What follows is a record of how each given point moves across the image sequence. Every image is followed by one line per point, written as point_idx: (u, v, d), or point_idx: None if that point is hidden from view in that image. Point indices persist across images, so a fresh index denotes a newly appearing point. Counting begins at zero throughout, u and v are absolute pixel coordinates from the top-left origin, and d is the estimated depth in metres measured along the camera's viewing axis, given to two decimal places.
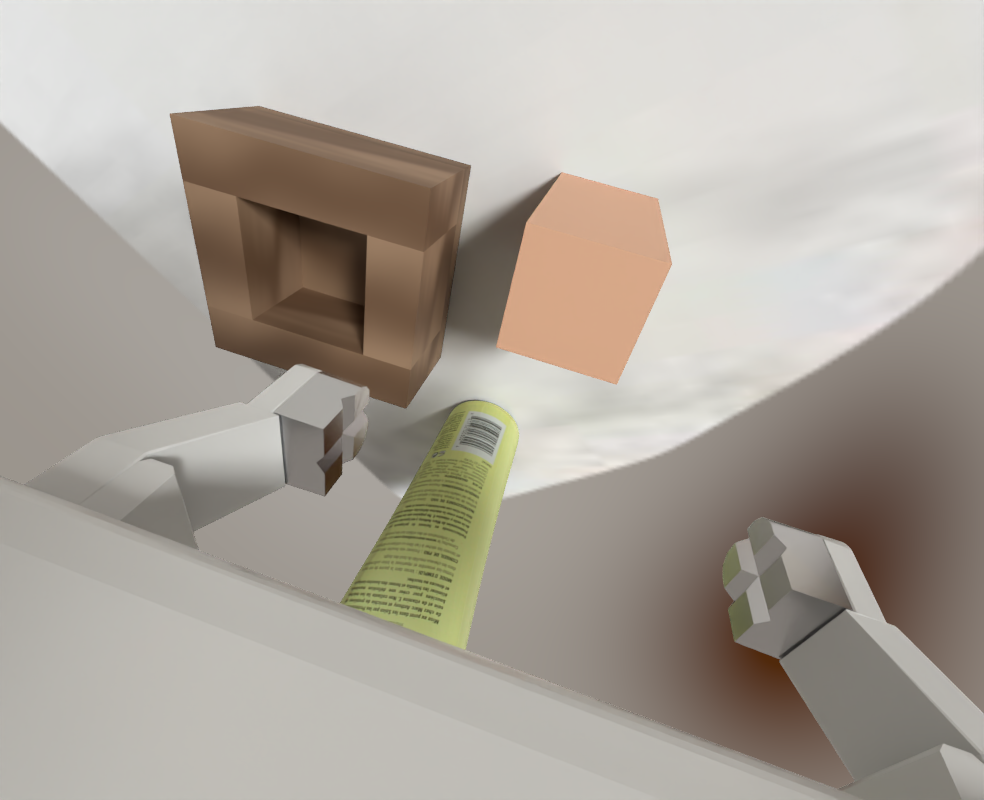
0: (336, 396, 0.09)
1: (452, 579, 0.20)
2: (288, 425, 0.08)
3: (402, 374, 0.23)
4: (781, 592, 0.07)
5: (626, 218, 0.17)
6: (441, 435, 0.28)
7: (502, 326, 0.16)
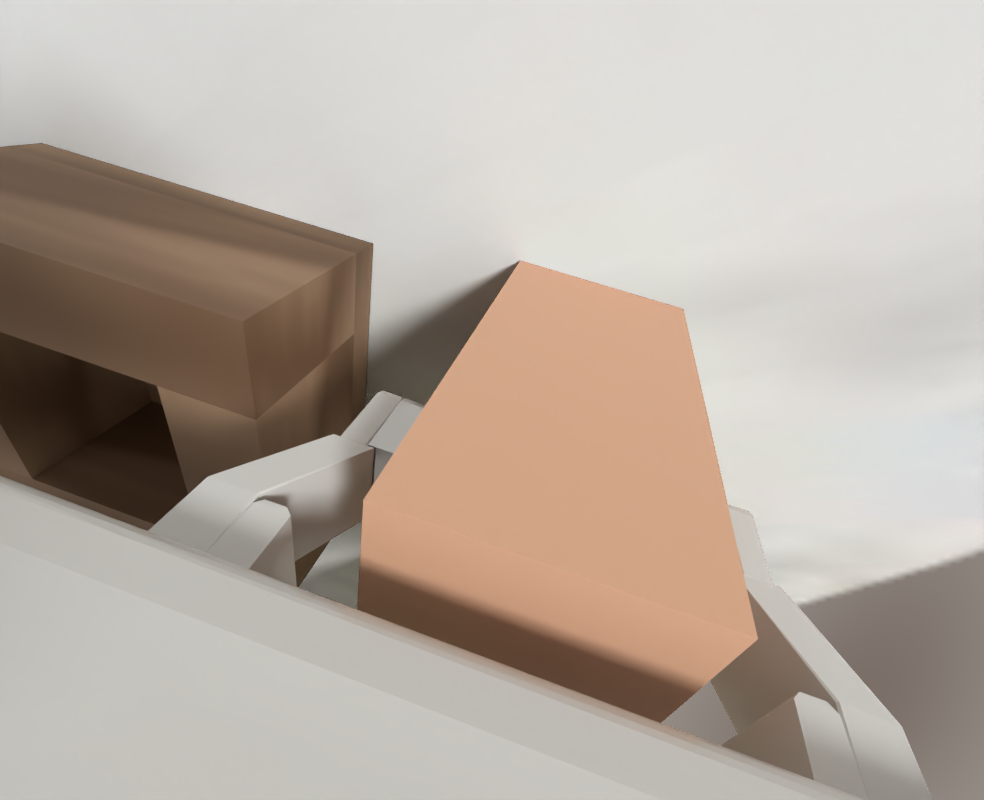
0: None
1: None
2: (382, 457, 0.08)
3: None
4: None
5: (629, 398, 0.08)
6: None
7: None
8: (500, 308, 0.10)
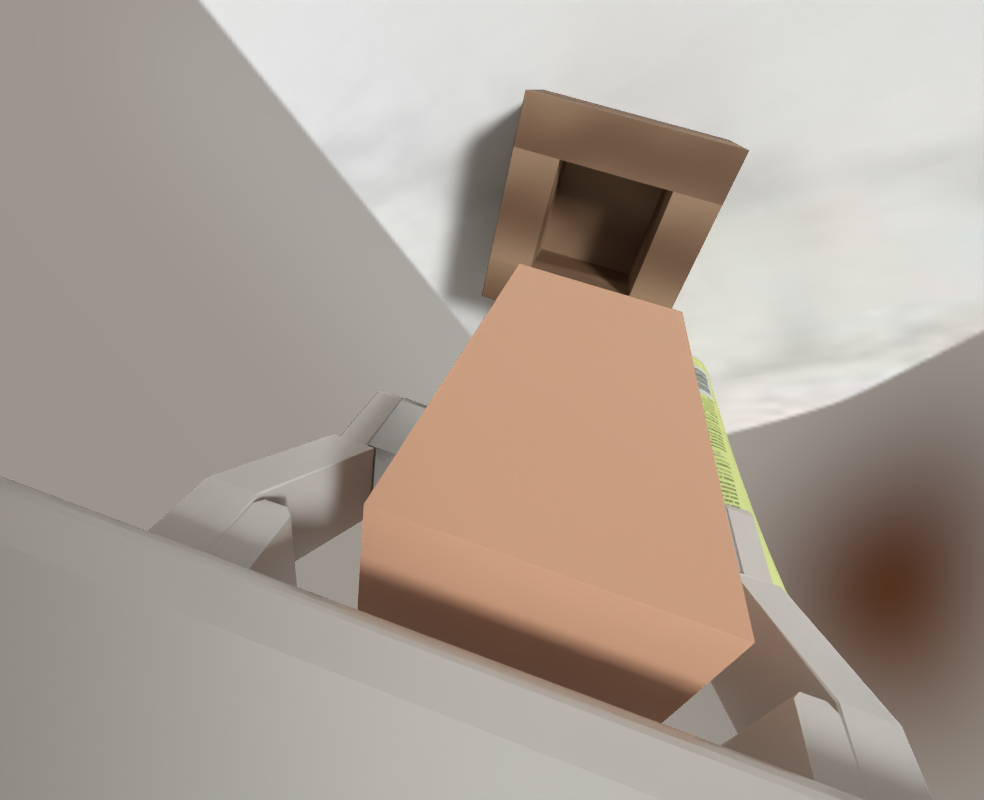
0: None
1: (733, 480, 0.24)
2: (382, 457, 0.08)
3: None
4: None
5: (628, 402, 0.08)
6: None
7: None
8: (499, 311, 0.10)
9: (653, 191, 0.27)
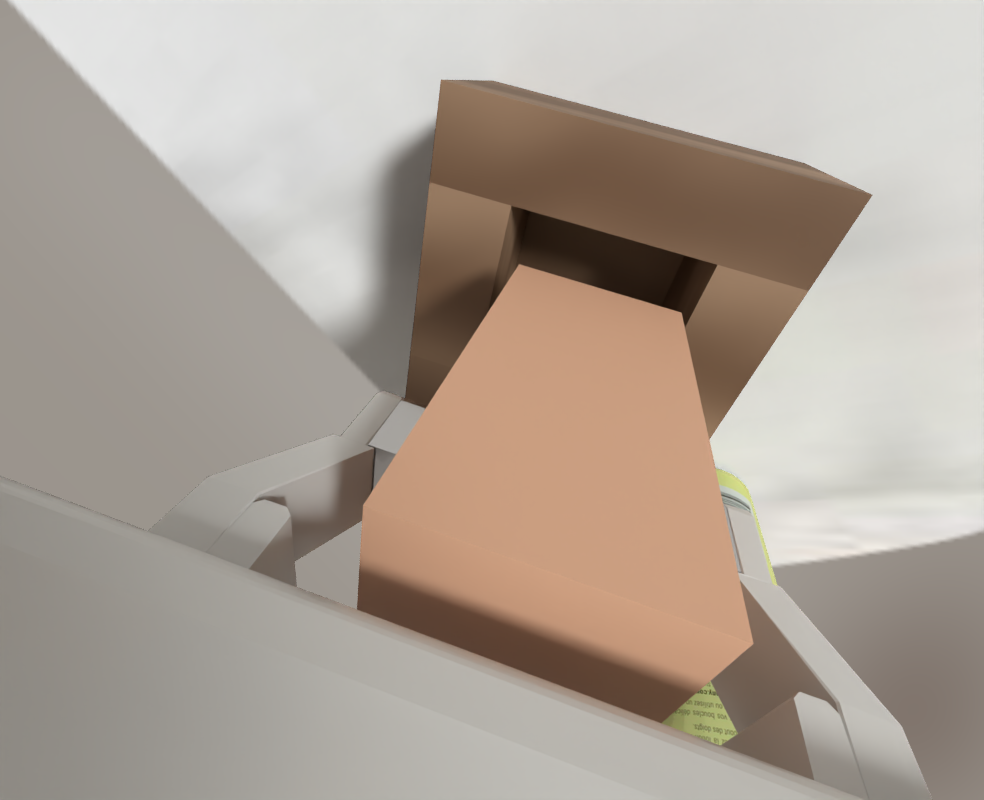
0: None
1: None
2: (382, 457, 0.08)
3: None
4: None
5: (627, 403, 0.08)
6: None
7: None
8: (499, 312, 0.10)
9: None
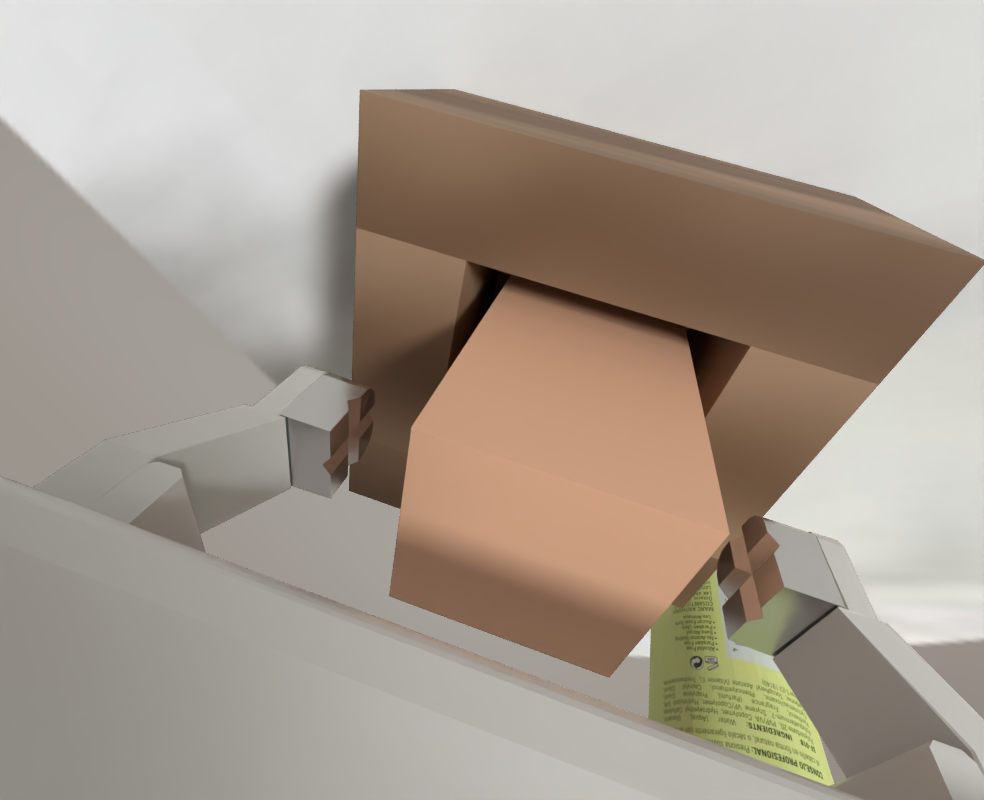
0: (342, 398, 0.09)
1: None
2: (294, 427, 0.08)
3: None
4: (774, 589, 0.07)
5: (628, 361, 0.09)
6: (682, 612, 0.17)
7: (394, 572, 0.09)
8: (513, 287, 0.11)
9: None
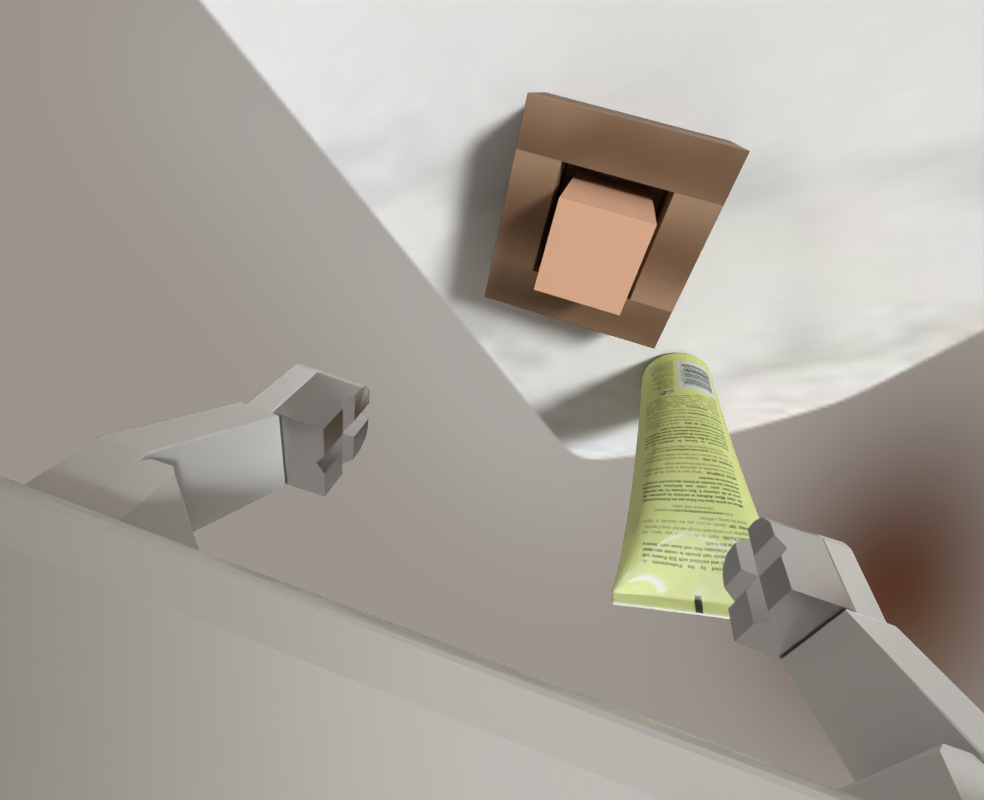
0: (336, 396, 0.09)
1: (735, 478, 0.24)
2: (288, 425, 0.08)
3: (662, 316, 0.27)
4: (781, 592, 0.07)
5: (626, 199, 0.24)
6: (657, 379, 0.32)
7: (539, 273, 0.23)
8: (576, 178, 0.25)
9: (655, 192, 0.28)
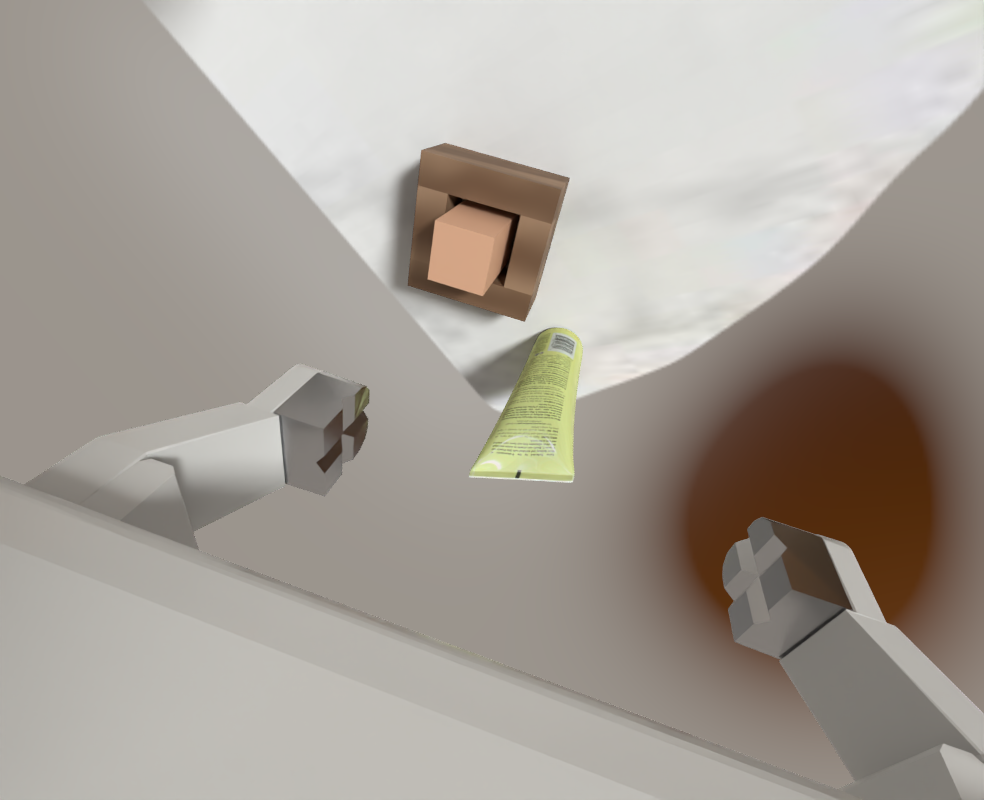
0: (336, 396, 0.09)
1: (562, 404, 0.36)
2: (288, 425, 0.08)
3: (526, 298, 0.39)
4: (781, 592, 0.07)
5: (489, 219, 0.36)
6: (537, 346, 0.44)
7: (429, 268, 0.35)
8: (462, 204, 0.37)
9: None
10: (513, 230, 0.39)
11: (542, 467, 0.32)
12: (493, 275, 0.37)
